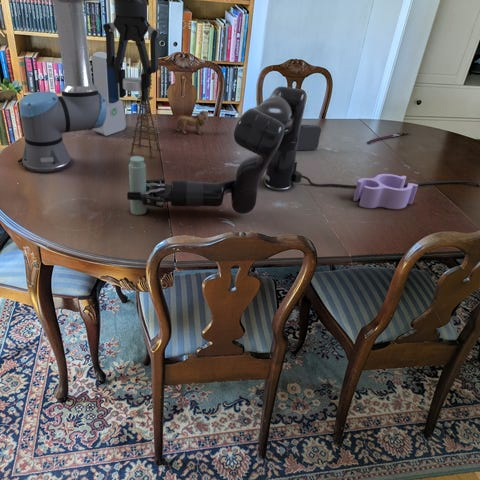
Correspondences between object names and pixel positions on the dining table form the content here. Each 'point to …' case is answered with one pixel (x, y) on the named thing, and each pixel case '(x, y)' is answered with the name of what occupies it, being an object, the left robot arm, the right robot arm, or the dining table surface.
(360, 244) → the dining table surface
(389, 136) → the sword
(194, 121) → the lion figurine
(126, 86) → the lid
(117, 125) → the electronic device
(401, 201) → the clip
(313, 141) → the handheld gaming console
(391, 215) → the dining table surface
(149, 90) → the miniature windmill
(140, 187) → the green bottle
